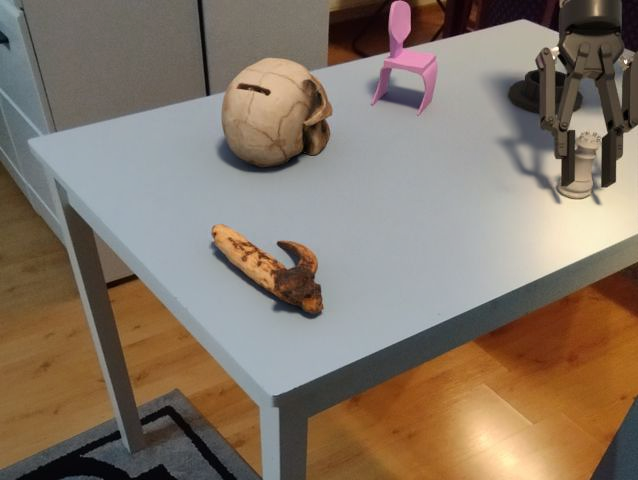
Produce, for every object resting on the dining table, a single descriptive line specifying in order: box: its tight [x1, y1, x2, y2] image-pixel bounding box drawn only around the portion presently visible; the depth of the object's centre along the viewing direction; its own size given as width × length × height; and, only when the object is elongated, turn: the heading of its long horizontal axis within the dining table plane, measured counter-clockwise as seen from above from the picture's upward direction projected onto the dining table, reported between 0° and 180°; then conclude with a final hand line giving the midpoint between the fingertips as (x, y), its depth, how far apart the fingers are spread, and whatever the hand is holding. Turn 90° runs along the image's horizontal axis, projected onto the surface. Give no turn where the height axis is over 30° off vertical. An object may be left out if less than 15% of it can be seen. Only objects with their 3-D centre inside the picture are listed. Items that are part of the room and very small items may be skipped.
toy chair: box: [370, 0, 439, 116], centre depth 106 cm, size 8×9×15 cm
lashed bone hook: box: [211, 223, 325, 315], centre depth 76 cm, size 9×5×18 cm
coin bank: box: [220, 57, 334, 168], centre depth 95 cm, size 16×17×13 cm
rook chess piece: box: [557, 130, 602, 200], centre depth 89 cm, size 4×4×8 cm
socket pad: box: [507, 69, 584, 116], centre depth 113 cm, size 12×12×4 cm
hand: (588, 183), depth 87 cm, fingers open, 4 cm apart
